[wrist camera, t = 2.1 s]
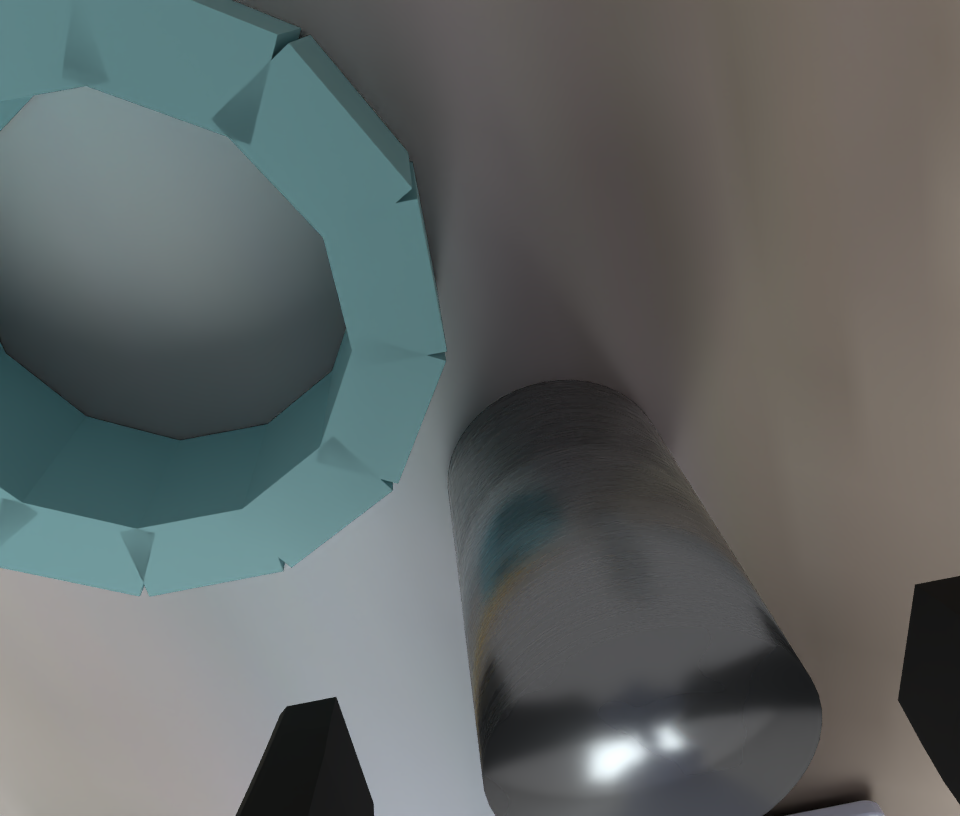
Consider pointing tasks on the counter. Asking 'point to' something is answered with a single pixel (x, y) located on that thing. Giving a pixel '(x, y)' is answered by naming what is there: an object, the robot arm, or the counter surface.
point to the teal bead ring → (310, 419)
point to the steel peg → (613, 623)
